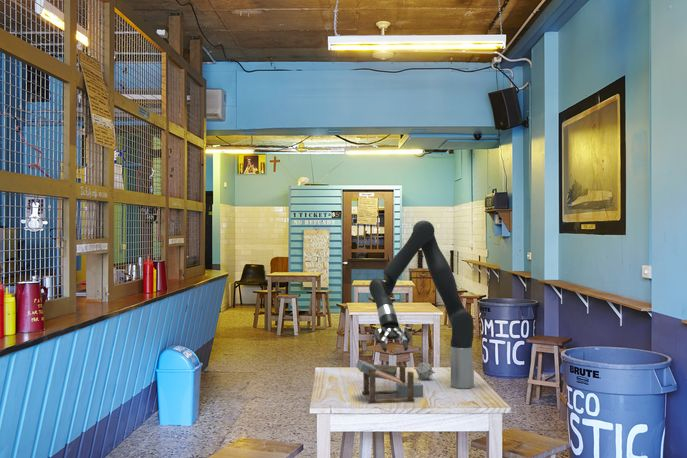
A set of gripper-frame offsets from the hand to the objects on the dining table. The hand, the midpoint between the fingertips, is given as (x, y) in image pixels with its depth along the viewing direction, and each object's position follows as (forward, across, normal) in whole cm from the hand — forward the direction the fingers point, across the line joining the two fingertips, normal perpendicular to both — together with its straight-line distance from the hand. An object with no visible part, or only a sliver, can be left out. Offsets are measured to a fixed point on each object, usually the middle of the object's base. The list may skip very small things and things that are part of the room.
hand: (395, 350), depth 245 cm
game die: (-8, +23, +36) cm, 43 cm away
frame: (+12, -3, +15) cm, 19 cm away
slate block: (+10, +6, +14) cm, 18 cm away
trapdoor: (+6, -7, +9) cm, 13 cm away
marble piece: (-17, +6, +45) cm, 49 cm away
